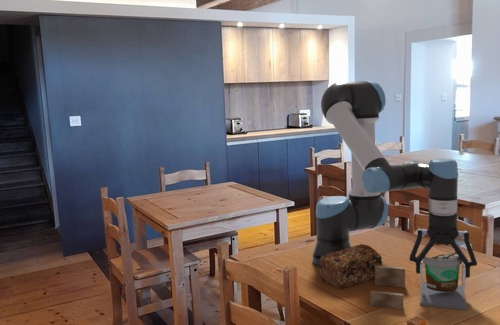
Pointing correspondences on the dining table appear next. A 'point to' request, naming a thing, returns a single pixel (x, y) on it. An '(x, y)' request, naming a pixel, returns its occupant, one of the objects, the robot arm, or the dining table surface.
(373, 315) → the dining table surface
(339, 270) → the bread
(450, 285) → the food container
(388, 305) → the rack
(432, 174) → the robot arm
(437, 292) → the mat
